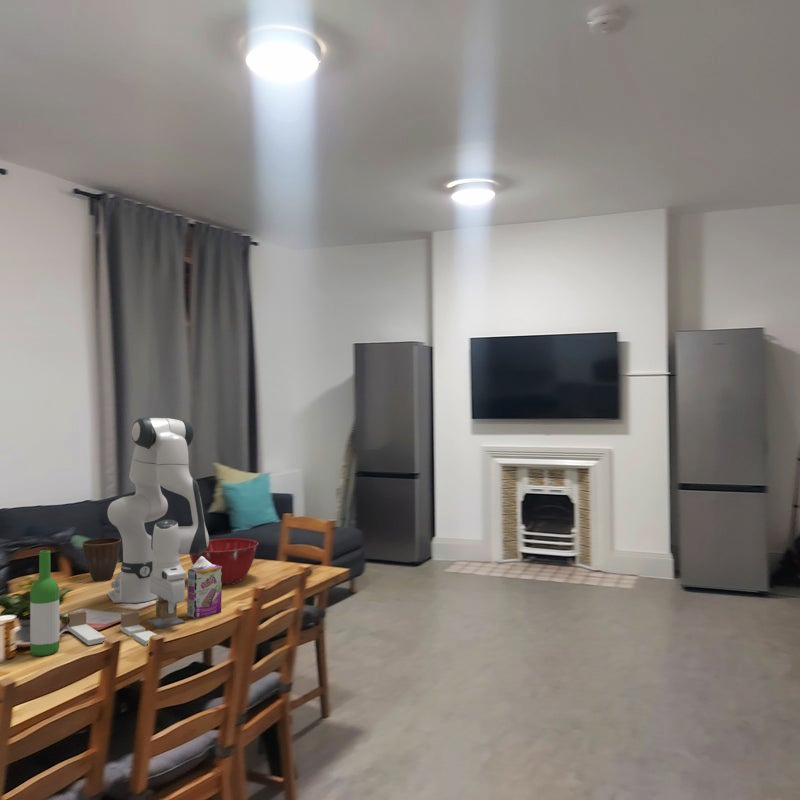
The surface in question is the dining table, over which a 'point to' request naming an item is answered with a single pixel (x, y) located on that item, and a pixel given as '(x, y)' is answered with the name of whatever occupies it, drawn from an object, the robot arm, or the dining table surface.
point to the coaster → (165, 622)
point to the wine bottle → (44, 610)
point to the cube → (164, 609)
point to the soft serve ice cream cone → (201, 563)
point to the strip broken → (134, 627)
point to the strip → (83, 628)
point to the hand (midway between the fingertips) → (166, 610)
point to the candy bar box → (204, 591)
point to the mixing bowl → (230, 557)
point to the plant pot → (101, 557)
